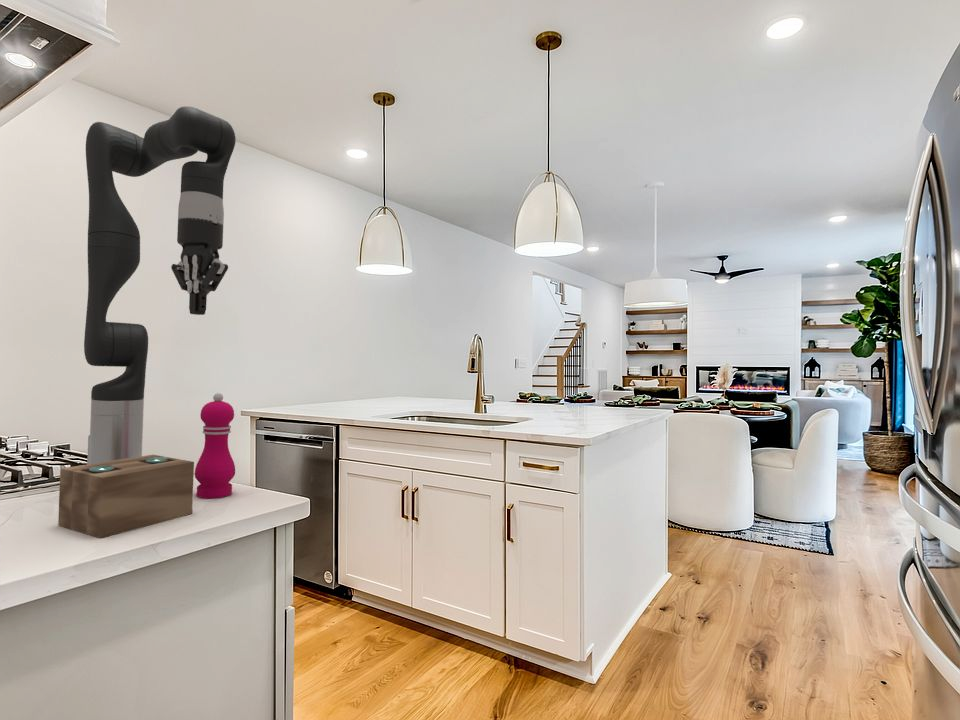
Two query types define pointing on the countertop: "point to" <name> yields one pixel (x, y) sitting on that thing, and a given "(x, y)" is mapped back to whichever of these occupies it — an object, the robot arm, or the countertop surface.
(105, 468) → the front peg
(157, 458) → the rear peg
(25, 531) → the countertop surface
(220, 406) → the pepper mill
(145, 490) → the walnut block
